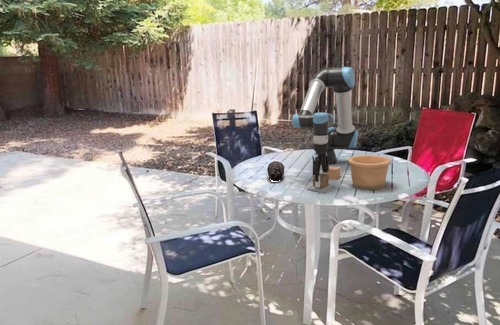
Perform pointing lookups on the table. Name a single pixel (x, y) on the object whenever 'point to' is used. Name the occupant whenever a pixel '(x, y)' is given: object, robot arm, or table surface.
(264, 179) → the table surface
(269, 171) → the pine cone
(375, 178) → the pottery
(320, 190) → the pad
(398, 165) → the table surface
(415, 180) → the table surface
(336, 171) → the terracotta cube
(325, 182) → the walnut cube
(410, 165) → the table surface
